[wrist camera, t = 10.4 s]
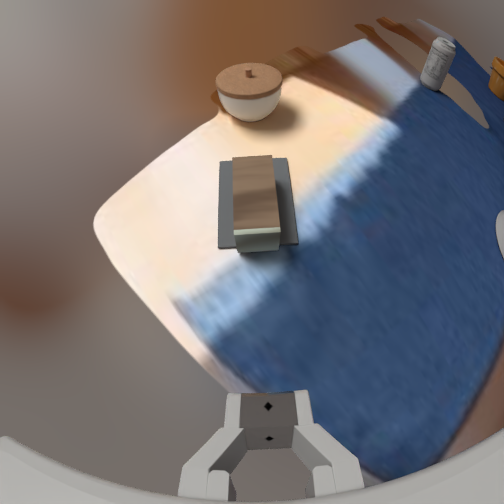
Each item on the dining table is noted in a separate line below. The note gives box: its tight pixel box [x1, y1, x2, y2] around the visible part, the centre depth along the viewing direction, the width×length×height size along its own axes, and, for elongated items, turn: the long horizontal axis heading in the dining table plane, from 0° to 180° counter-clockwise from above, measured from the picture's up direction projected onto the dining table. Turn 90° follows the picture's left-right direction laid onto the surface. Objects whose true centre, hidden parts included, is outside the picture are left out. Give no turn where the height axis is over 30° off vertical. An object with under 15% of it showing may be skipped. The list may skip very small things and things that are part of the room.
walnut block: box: [232, 155, 281, 253], centre depth 34 cm, size 5×5×11 cm
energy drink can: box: [420, 37, 455, 91], centre depth 44 cm, size 6×6×15 cm
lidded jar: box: [216, 63, 282, 122], centre depth 41 cm, size 11×11×9 cm
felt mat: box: [218, 158, 298, 248], centre depth 38 cm, size 14×10×1 cm
